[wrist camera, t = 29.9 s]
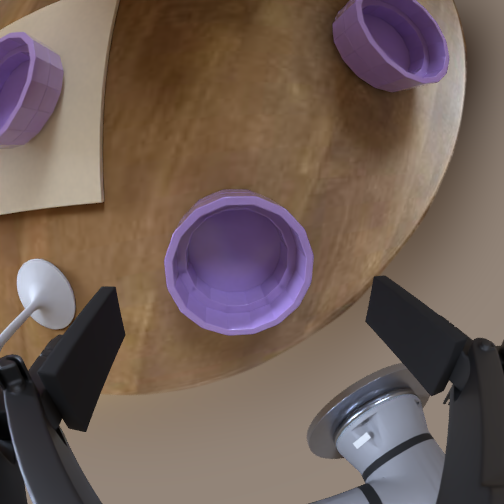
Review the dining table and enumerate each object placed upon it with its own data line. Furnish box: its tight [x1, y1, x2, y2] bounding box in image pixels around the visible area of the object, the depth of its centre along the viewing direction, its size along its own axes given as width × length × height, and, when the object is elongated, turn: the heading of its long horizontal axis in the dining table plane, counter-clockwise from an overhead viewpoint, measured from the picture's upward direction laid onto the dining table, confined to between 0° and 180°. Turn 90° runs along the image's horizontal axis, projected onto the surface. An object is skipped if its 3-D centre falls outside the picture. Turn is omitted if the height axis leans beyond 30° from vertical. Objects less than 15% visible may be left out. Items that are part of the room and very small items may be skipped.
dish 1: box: [0, 32, 64, 149], centre depth 12 cm, size 9×9×5 cm
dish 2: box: [164, 189, 314, 335], centre depth 19 cm, size 9×9×5 cm
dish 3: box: [332, 0, 449, 92], centre depth 15 cm, size 9×9×5 cm
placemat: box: [0, 0, 120, 215], centre depth 14 cm, size 20×16×1 cm
